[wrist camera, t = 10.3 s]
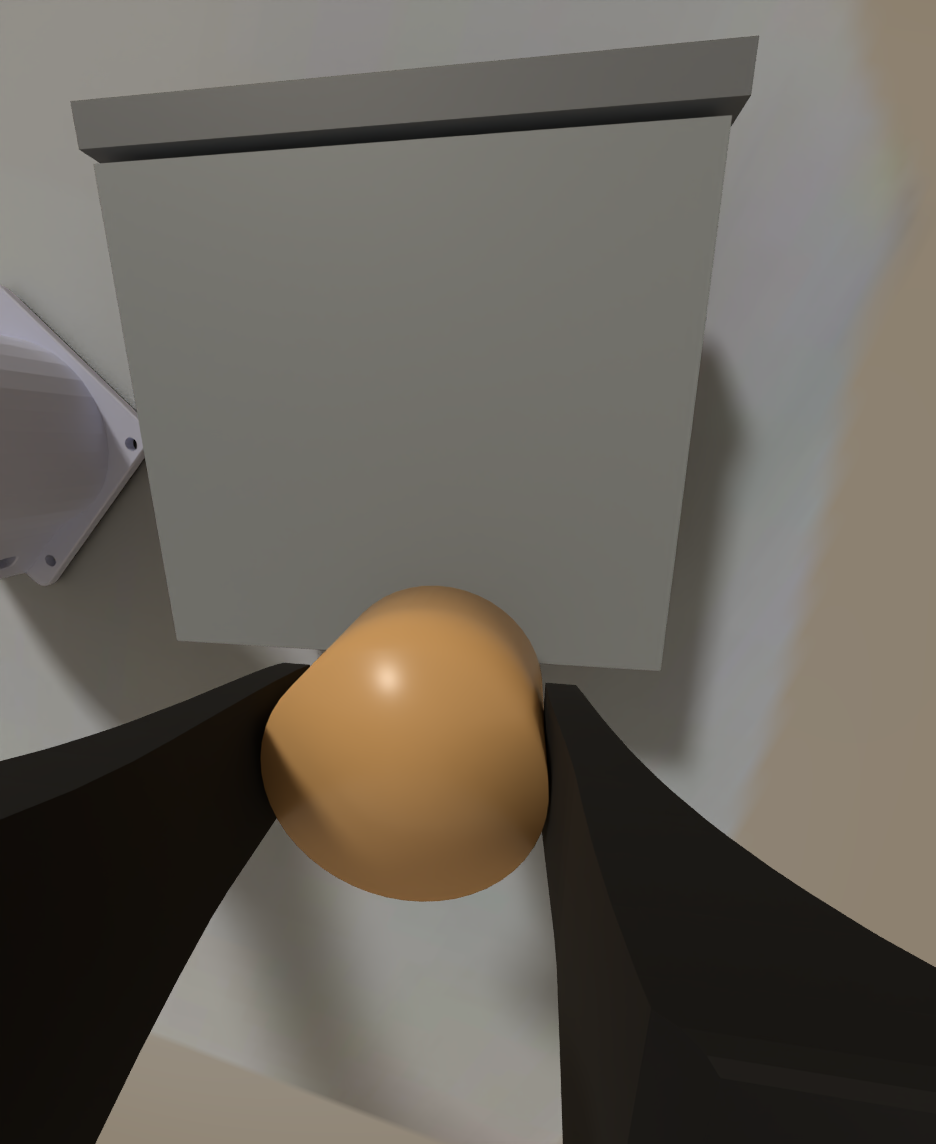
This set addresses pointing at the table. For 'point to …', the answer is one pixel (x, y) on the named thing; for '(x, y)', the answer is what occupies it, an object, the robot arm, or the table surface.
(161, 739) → the robot arm
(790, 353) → the table surface
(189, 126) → the lid
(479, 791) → the orange rounded block
